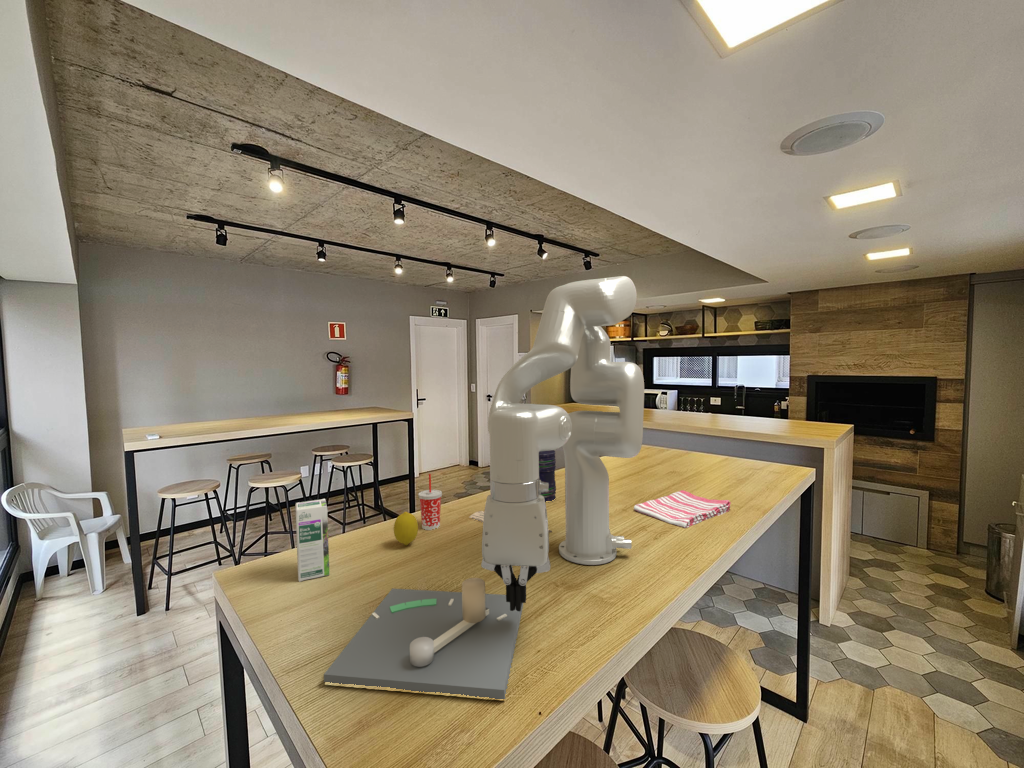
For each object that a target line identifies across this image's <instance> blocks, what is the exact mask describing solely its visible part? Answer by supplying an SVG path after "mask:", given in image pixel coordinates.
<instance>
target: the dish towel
mask: <svg viewBox="0 0 1024 768" xmlns="http://www.w3.org/2000/svg"><path fill="white" fill-rule="evenodd" d="M731 504H732V503H731V501H730V500H729V499H721V500H720V499H710V498H709V499H708V498H706V497H701V496H698V495H694V494H693V493H691V492H689V491H686V490H679V491H675V492H673V493H671V494H669V495H664V496H662V497H659V498H658V497H657V498H656V499H651V500H650V499H649V500H647V501H645V502H642V503H636V504H634V506H633V510H634V511H636V512H637V513H640V514H643V515H646V516H648V517H650V518H655V519H656V520H659V521H662V522H664V523H666V524H667V523H668V524H671V525H674V526H677V527H681V528H683V529H687V528H690V527H691V526H694V525H697V524H701V522H703V521H706V520H709V519H713V518H714V517H717V516H718V517H719V516H721V515H723V514H726V513H727V512H730V508H731Z"/></svg>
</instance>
